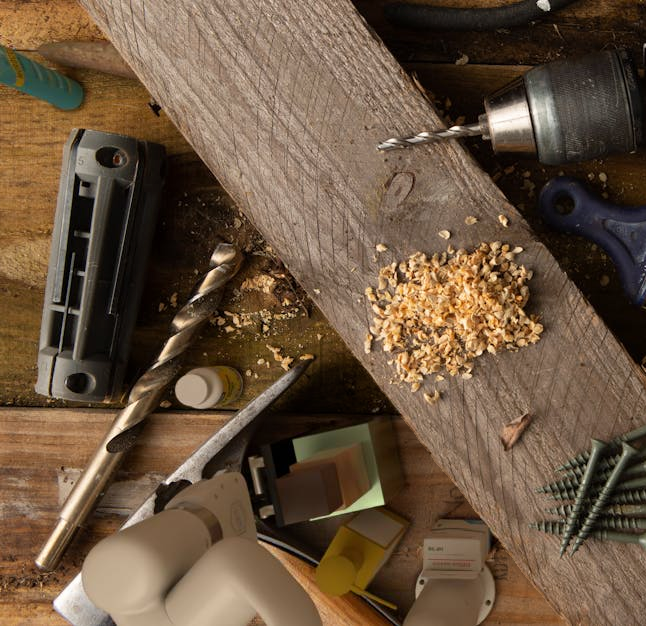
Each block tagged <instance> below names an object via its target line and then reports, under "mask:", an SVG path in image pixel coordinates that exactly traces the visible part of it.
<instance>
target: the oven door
mask: <svg viewBox="0 0 646 626" xmlns="http://www.w3.org/2000/svg"><path fill="white" fill-rule="evenodd" d="M317 429H320V428H319V427H318V428H313V429H309V430H306V431H303V432H300V433H297V434H294V435H290V436H287V437H285V438H282V439H278V440H274V441H272V442H269V443H266V444H262V445H260V446H259V448H260V452H261V456H259V455H258V454H256V455H251V456H249V457H248V458H247V459H248V464H249V469H250V474H251V478H252V483H253V488H254V491H255V495H256V494H261V493H265V499H263V500H265V501H267V505H266V506H265V507H263V508H261V509H259V515H260V519H267V518H269V517H271V516H272V515H274V518H275V522H276V523H275V524H276V527H277V528H283V527H288V526H289V525H291V524H287V525H285V524H284V519H283V514H282V510H281V505H280V500H279V496H278V491H277V486H276V481H275V480H276V479H278V478H280V477H282V476H284V475H286V474H288V473H290V466H291V465H293V464H295V463H297V459H296V455H295V450H294V445H293V441H292V440H293V439H295V438H297V437H300V436H302V435H305V434H307V433H310V432H312V431H315V430H317ZM263 467H264V471H265V475H266V480H267V484H268V489H269V494H270V499H271V503H269V498H268V494H267V489H266V485H265V480H264V475H263V471H262V468H263Z"/></svg>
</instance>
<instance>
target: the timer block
mask: <svg viewBox="0 0 646 626" xmlns="http://www.w3.org/2000/svg"><path fill="white" fill-rule="evenodd" d="M275 481H276V486H277V491H278V496H279V500H280V505H281V510H282V514H283V519H284V524H285V525H287V524H290V525H292V524H296V523H301V522H304V521H310V519H314V518H319V517H323V516H328V515H330V514H332V513H333V512H334V511H336V510H337V509H338V508H340V507H341V506H342V505H343V499H342V495H341V490H340V485H339V481H338V476H337V471H336V467H335V462H332V463H328V464H323V465H319V466H314V467H310V468H305V469H301V470H296V471H292V472H290V473H288V474H286V475H284V476H282V477H280V478H278V479H276V480H275Z"/></svg>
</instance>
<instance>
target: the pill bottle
mask: <svg viewBox="0 0 646 626" xmlns="http://www.w3.org/2000/svg"><path fill="white" fill-rule="evenodd" d="M243 381H244V380H243V377H242V376H241V374H240V372H239V371H238V370H236V369H235V368H233V367H231V366H228V365H214V366H206V367H197V368H193V369H191V370H189V371H188V372H186V373H185V375H183V376H181V377H180V378H179V379H178V380H177V382H176V384H175V389H174V391H175V397H176V398H177V400H178V401H179V402H180V403H181V404H182V405H185V406H188V407H191V408H194V409H197V410H199V409H200V410H204V409H209V408H215V407H220V406H224V405H228V404H231V403H234V402H235V401H236V400H237V399H238V398H239V397H240V396H241V394H242V392H243V387H244V382H243Z"/></svg>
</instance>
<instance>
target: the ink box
mask: <svg viewBox="0 0 646 626" xmlns="http://www.w3.org/2000/svg"><path fill="white" fill-rule="evenodd" d="M484 520H485V519H442V518H441V519H438V520H437V521H436V523H435V524H434V525H433V527H432V528H431V530H429V532H428V533H427V535H426V536H425V537H424V539H423V557H422V558H423V559H422V570H423V573H422V574H421V576H420V577H421V578H442V579H476V578H477V576H478V574H479V572H481V570H482V568H483V565H484V563H485V564H486V560H487V558H488V555H489V553H490V550H491V527H490V528H489V527H488V525H487V524H486V523H485V522H484ZM442 574H443V575H442ZM448 575H451V576H448Z"/></svg>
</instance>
